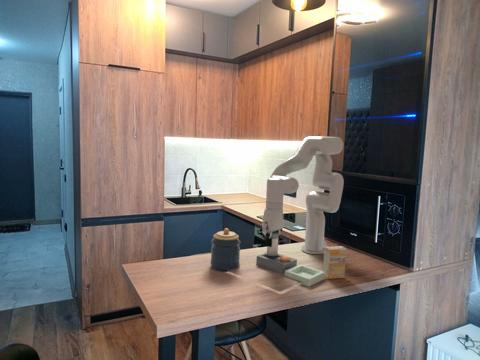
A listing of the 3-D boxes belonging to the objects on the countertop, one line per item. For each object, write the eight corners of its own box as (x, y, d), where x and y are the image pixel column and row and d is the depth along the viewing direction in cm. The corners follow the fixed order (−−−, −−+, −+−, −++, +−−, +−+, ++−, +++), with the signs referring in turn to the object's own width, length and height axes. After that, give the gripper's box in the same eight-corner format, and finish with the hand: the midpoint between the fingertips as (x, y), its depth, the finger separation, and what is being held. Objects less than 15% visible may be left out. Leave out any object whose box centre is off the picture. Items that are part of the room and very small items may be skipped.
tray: (300, 270, 160) (300, 264, 160) (324, 278, 152) (324, 271, 152) (284, 277, 151) (284, 270, 151) (309, 286, 143) (309, 279, 143)
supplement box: (327, 279, 151) (329, 249, 150) (321, 275, 156) (324, 246, 154) (344, 278, 154) (347, 248, 152) (338, 274, 158) (341, 245, 157)
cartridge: (271, 251, 167) (272, 230, 166) (280, 254, 164) (281, 232, 162) (264, 253, 163) (264, 232, 162) (273, 256, 160) (274, 234, 158)
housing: (269, 261, 170) (270, 251, 170) (296, 270, 160) (296, 259, 160) (256, 266, 163) (256, 255, 163) (283, 276, 153) (283, 264, 152)
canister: (236, 273, 154) (237, 233, 151) (206, 270, 156) (208, 230, 154) (241, 263, 166) (243, 226, 164) (214, 260, 169) (216, 223, 167)
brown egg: (283, 265, 162) (283, 255, 161) (291, 268, 159) (292, 258, 158) (277, 268, 158) (277, 257, 158) (285, 270, 156) (286, 260, 155)
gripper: (279, 202, 169) (277, 239, 172) (255, 206, 157) (253, 246, 159) (292, 204, 164) (290, 243, 167) (269, 209, 152) (267, 251, 154)
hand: (272, 244), depth 163 cm, fingers closed on cartridge, 5 cm apart
